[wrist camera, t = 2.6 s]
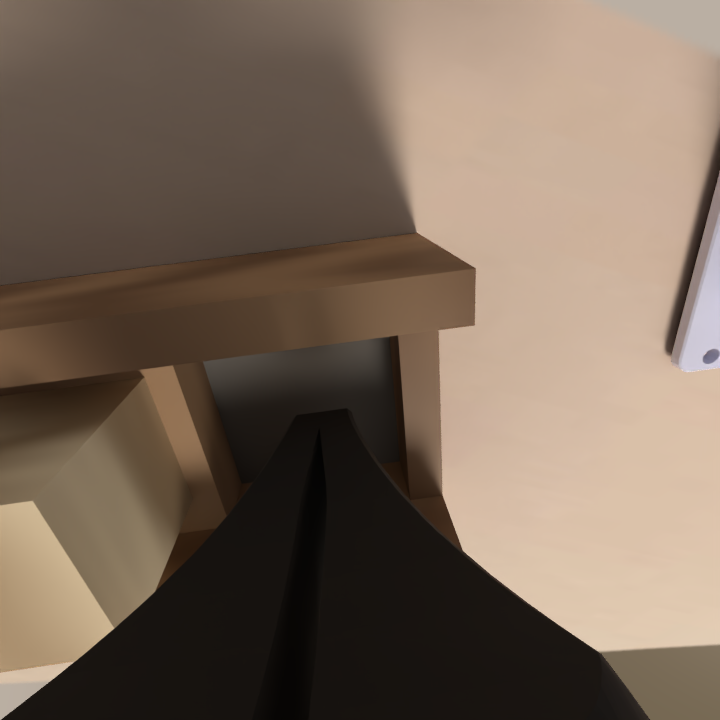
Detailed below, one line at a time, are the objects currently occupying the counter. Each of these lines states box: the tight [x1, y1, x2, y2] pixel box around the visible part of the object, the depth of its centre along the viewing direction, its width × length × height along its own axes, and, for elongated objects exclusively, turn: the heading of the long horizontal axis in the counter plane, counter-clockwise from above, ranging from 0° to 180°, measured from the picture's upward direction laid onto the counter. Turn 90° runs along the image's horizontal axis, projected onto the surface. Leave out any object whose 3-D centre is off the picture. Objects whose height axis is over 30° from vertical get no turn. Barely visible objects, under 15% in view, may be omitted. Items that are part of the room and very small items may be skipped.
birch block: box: [0, 377, 193, 673], centre depth 8 cm, size 4×4×4 cm
